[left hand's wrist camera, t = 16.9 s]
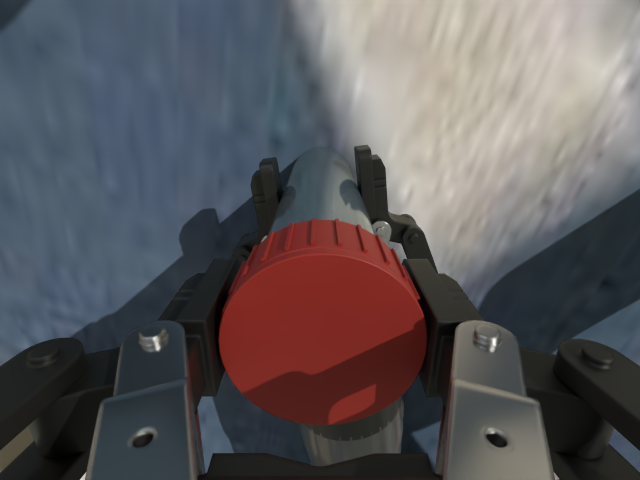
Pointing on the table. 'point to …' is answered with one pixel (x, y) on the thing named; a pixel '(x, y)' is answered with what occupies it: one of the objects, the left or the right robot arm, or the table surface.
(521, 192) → the table surface
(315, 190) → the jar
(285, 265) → the lid
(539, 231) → the table surface
